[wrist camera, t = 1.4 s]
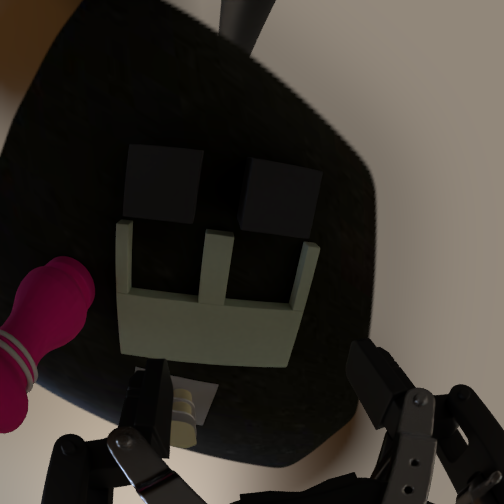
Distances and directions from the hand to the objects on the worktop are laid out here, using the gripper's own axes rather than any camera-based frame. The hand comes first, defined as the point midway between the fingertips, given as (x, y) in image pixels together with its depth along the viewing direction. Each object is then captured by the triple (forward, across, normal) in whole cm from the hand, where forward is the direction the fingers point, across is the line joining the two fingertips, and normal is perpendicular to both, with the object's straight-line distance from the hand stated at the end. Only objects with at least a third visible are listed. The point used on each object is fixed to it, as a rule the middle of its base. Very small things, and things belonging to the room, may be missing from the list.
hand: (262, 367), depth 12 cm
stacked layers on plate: (+16, +9, +20) cm, 27 cm away
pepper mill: (+16, +17, +3) cm, 24 cm away
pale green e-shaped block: (+16, +2, +5) cm, 17 cm away
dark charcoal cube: (+16, +5, -6) cm, 18 cm away
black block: (+16, -4, -5) cm, 17 cm away
